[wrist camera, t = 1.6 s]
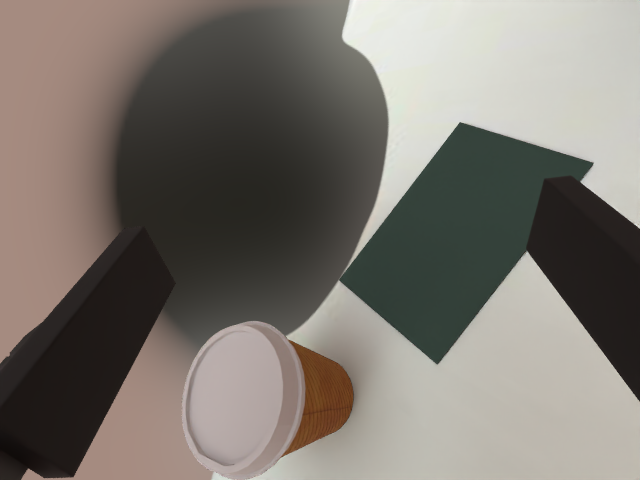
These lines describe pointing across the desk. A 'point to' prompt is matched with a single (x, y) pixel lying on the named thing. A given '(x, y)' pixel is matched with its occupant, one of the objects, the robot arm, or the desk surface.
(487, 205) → the desk mat
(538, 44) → the desk surface
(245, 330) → the disposable coffee cup
